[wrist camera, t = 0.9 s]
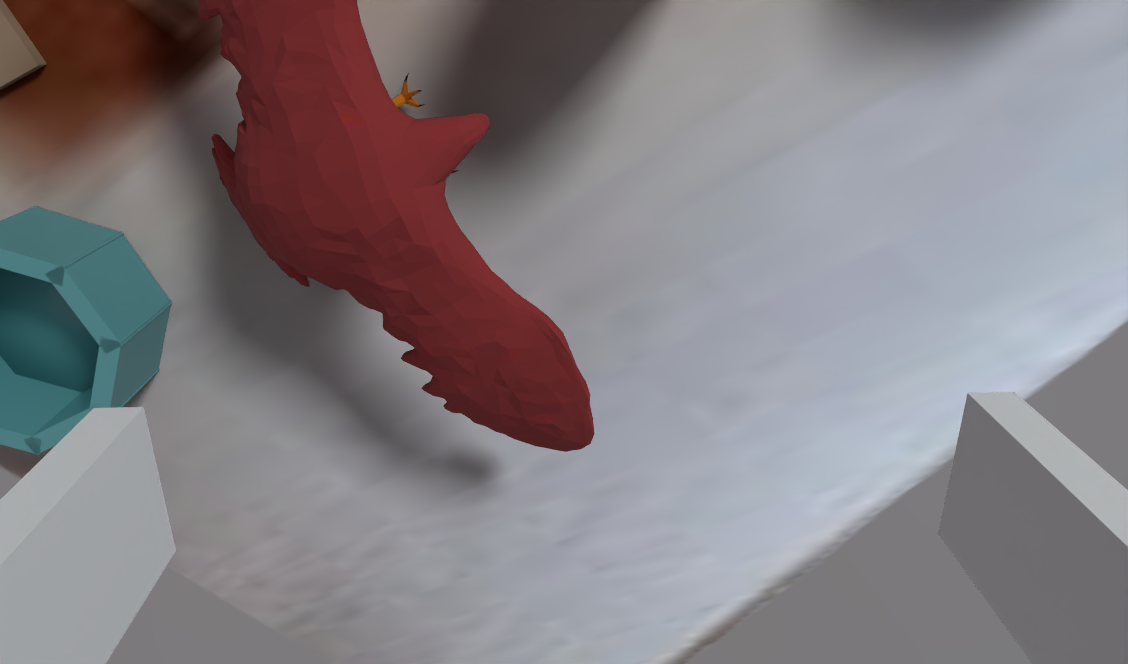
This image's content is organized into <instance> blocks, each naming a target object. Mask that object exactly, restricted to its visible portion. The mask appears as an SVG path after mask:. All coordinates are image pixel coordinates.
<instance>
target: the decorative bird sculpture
mask: <svg viewBox="0 0 1128 664" xmlns="http://www.w3.org/2000/svg"><path fill="white" fill-rule="evenodd" d="M198 15H199V16H200V17H201V18H202V19H210V18H212V17H215V16H217V15H221V17H222V21H223V28H222V38H221V40H220V45H221V48H222V51H221V55H222V56H223V57H224V58H225V59H227V60H229V61H230V62H231V63H232V64H233V65H234V66H235V68H236V69H237V70H238V72H239V73H240V75H241V77H242V78H241V80H240V82H239V84H238V91H237V92H236V95H237V98H238V101H239V104H240V107H241V110H242V116H243V118H244V120H243V121H242V122H240V123H239V124H238V128H237V143H236V148H235V153H234V152H233V151H232V149H231V148H230V147H229V146H228V145H227V144H226V142H225V141H224V140H223V139H222V138H221V137H220V135H217V134H214V135H213V136H212V141H213V144H214V147H215V148H212V154H213V156H214V159H215V162H216V165H217V168H218V170H219V174H220V179H221V181H222V183H223V185H224V186H225V188H226V189H227V191H228V193H229V196H230V199H231V201H232V202H233V204H234V205H235V207H236V208H237V210H238V211H239V213H240V214H241V216H242V218H243V219H244V220H245V222H246V223H247V225H248V226H249V228H250V230H251V232H252V234H253V236H254V237H255V239H256V240H257V242H258V243H259V245H260V246H261V247H262V248H263V249H264V250H265V251H266V253H267V254H268V256H269V257H270V258H271V259H272V260H273V261H275V262H276V263H277V264H278V266H279V267H280V268H281V269H282V270H283V271H284V272H285V273H286V274H287V275H288V276H289V277H291V278H295V279H296V280H297V281H298V282H299V283H300V284H301V285H304V286H306V287H309V286H310V285H309V281H308V278H307V276H308V277H310V278H312V279H314V280H316V281H318V282H320V283H322V284H324V285H327V286H329V287H331V288H333V289H335V290H340V289H345V290H347V291H348V292H349V293H350V294H351V295H352V296H353V297H354V298H355V299H356V300H357V301H358V302H359V303H360V304H362V305H364V306H366V307H368V308H370V309H374V310H376V311H379V312H381V313H382V314H383V328H384V330H386V331H387V332H388V333H389V334H391V335H392V336H394V337H395V338H397V339H398V340H400V341H405V342H407V343H409V344H410V345H412V346H413V347H414V349H413V350H410V351H407V352H405V353H404V354H403V355H402V357H401V359H402V360H403V361H405V362H407V363H409V364H411V365H414V366H416V367H418V368H420V369H422V370H426V371H427V372H429V373H430V374H431V375H432V376H433V377H432V379H431V381H430V382H429V383H427V384H425V385H424V386H423V387H422V389H423V390H424V391H426V392H427V393H429V394H431V395H433V396H437V397H441V398H444V399H445V400H446V401H447V403H446V404H444V407H445V409H447V410H448V411H450V412H453V413H461V414H463V415H465V416H467V417H468V418H470V419H471V420H472V421H473V422H474V423H477V424H480V425H484V426H486V427H488V428H490V429H492V430H494V431H496V432H499V433H503V434H505V435H507V436H509V437H511V438H513V439H516V440H519V441H522V442H525V443H528V444H531V445H534V446H538V447H544V448H549V449H554V450H559V451H566V452H567V451H571V450H578V449H582V448H584V447H585V446H587V445H589V444H590V443H591V441H592V438H593V436H594V426H593V417H592V413H591V408H590V393H589V390H588V387H587V384H586V381H585V380H584V378H583V376H582V374H581V373H580V371H579V369H578V368H577V365H576V363H575V360H574V358H573V355H572V353H571V350H570V348H569V346H568V343H567V341H566V338H565V336H564V334H563V332H562V331H561V330H560V329H559V328H558V327H557V325H556V324H555V323H554V322H553V321H552V320H551V319H550V318H549V317H548V316H547V315H546V314H544V313H543V312H542V311H541V310H539V309H538V308H537V307H536V306H534V305H533V304H531V303H530V302H528V301H527V300H526V299H524V298H523V297H521V296H520V295H519V294H517V293H516V292H515V291H514V290H513V289H512V288H510V287H509V286H508V285H507V284H506V283H505V282H504V281H503V280H502V279H501V278H500V277H499V276H497V275H496V274H495V273H494V272H492V271H491V269H490V268H489V267H488V265H487V264H486V263H485V261H484V260H483V258H482V257H481V256H480V254H479V253H478V252H477V250H476V249H475V248H474V246H473V245H472V244H471V242H470V241H469V240H468V239H467V237H466V236H465V235H464V233H463V232H462V231H461V229H460V228H459V226H458V225H457V223H456V221H455V220H454V218H453V216H452V214H451V212H450V210H449V208H448V205H447V201H446V198H445V195H444V193H445V179H446V178H447V177H448V176H449V174H450V173H454V172H456V171H454V169H455V168H456V167H457V166H458V165H459V164H460V162H461V161H462V160H463V159H464V158H465V157H466V155H467V154H468V153H469V152H470V150H471V149H472V148H473V146H474V145H475V144H476V142H478V141H479V140H481V139H482V138H483V137H484V135H485V133H486V132H487V130H488V128H489V126H490V123H489V119H488V116H485V115H484V114H469V115H459V116H448V117H436V118H424V119H414V118H412V117H410V116H408V115H407V114H405V113H404V112H402V111H401V110H399V108H398V107H400V106H402V105H403V104H405V103H406V104H409V105H412V106H415V107H420V106H422V105H420V104H419V103H417V102H416V101H415V100H413V99H412V98H411V97H412V96H414V95H415V94H417V93H418V92H420V91H422V90H418V91H413V92H409V93H408V87H407V77H408V75H407V76H406V78H405V80H404V84H403V88H402V92H401V94H400V95H398V96H397V97H395V98H393V99H391V98H390V96H389V94H388V92H387V90H386V88H385V86H384V84H383V82H382V80H381V77H380V74H379V72H378V69H377V66H376V64H375V61H374V58H373V56H372V53H371V50H370V48H369V45H368V42H367V39H366V36H365V33H364V30H363V27H362V24H361V20H360V15H359V11H358V6H357V0H198ZM408 74H409V73H408ZM423 105H425V104H423ZM457 171H459V170H457Z"/></svg>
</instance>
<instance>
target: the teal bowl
mask: <svg viewBox="0 0 1128 664" xmlns="http://www.w3.org/2000/svg"><path fill="white" fill-rule="evenodd" d="M171 304H172V303H171V300H169V298H168V297H167V296H166V294H165V293H164V291H163V290H162V289H161V287H160V286H159V284H158V283H157V281H156V280H155V279H154V277H153V276H152V274H151V273H150V272H149V270H148V269H147V267H146V266H145V265H144V263H143V262H142V260H141V259H140V258H139V256H138V255H137V253H136V252H135V251H134V249H133V248H132V246H131V245H130V243H129V242H128V241H127V239H126V238H125V236H124V233H122V232H117V231H114V230H111V229H107V228H104V227H101V226H98V225H94V224H91V223H88V222H85V221H81V220H78V219H75V218H72V217H68V216H65V215H62V214H58V213H55V212H52V211H49V210H45V209H42V208H39V206H37V207H36V206H35V207H32V208H30V209H28V210H25V211H23V212H20V213H18V214H16V215H13V216H11V217H9V218H6V219H4V220H2V221H0V445H4V446H8V447H12V448H15V449H19V450H23V451H27V452H31V453H34V454H36V455H37V454H38V455H40V454H41V453H42V452H43V451H45V450H47V449H49V448H51V447H54V446H56V445H57V444H58V443H59V442H60V441H61V440H62V439H63V438H64V437H65V436H66V435H67V434H68V433H69V432H70V431H71V430H72V429H73V428H74V427H75V426H76V425H77V424H78V423H79V422H80V421H81V420H82V419H83V418H84V417H85V416H86V415H87V414H88V413H89V412H90V411H91V410H92V409H93V408H116V407H123V406H124V405H125V404H126V403H127V402H128V401H129V400H130V399H131V398H132V397H133V396H134V395H135V394H136V393H137V392H138V391H139V390H140V389H141V388H142V387H143V386H144V385H145V384H146V383H147V382H148V381H149V380H150V379H151V378H152V377H153V376H154V375H155V374H156V373H157V372H158V371H159V364H160V358H161V353H162V348H163V342H164V337H165V332H166V326H167V321H168V316H169V310H170V305H171Z"/></svg>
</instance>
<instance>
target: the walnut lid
mask: <svg viewBox="0 0 1128 664" xmlns="http://www.w3.org/2000/svg"><path fill="white" fill-rule="evenodd" d="M46 64H47V63H46V62H45V61H44V59H43V58H42V56H41V55H40V53H39V52H38V50H37V49H36V48H35V46H34V45H33V43H32V42H31V40H30V39H29V37H28V36H27V35H26V33H25V32H24V30H23V29H22V27H21V26H20V24H19V23H18V21H17V20H16V19H15V17H14V16H13V14H12V13H11V11H10V10H9V8H8V7H7V6H6V4H5V3H4V1H3V0H0V90H2V89H4V88H5V87H7V86H9V85H11V84H13V83H14V82H16V81H18V80H20V79H21V78H23V77H25V76H27V75H29V74H30V73H32V72H34V71H36V70H37V69H39V68H41V67H43V66H45V65H46Z"/></svg>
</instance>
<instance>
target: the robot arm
mask: <svg viewBox="0 0 1128 664" xmlns="http://www.w3.org/2000/svg"><path fill="white" fill-rule="evenodd" d="M938 535H939V536H940V537H941V539H942V540H943V541H944V543H945V544H946V545H947V547H948V548H949V550H950V551H951V552H952V554H953V555H954V557H955V558H956V559H957V561H958V562H959V563H960V565H961V566H962V568H963V569H964V570H965V572H966V573H967V575H968V576H969V577H970V579H971V580H972V581H973V583H974V584H975V586H976V587H977V588H978V590H979V591H980V592H981V594H982V595H983V597H984V598H985V599H986V601H987V602H988V603H989V605H990V606H991V608H992V609H993V610H994V612H995V613H996V614H997V616H998V617H999V619H1000V620H1001V621H1002V623H1003V624H1004V625H1005V627H1006V628H1007V630H1008V631H1009V632H1010V634H1011V635H1012V636H1013V638H1014V639H1015V641H1016V642H1017V643H1018V645H1019V646H1020V647H1021V649H1022V650H1023V652H1024V653H1025V654H1026V656H1027V657H1028V659H1029V660H1030V661H1031V663H1032V664H1128V490H1127V489H1125V488H1124V487H1123V486H1122V485H1121V484H1120V483H1118V482H1117V481H1116V480H1115V479H1114V478H1113V477H1112V476H1110V475H1109V474H1108V473H1107V472H1106V471H1105V470H1104V469H1102V468H1101V467H1100V466H1099V465H1098V464H1097V463H1095V462H1094V461H1093V460H1092V459H1091V458H1090V457H1088V456H1087V455H1086V454H1085V453H1084V452H1083V451H1082V450H1080V449H1079V448H1078V447H1077V446H1076V445H1075V444H1074V443H1072V442H1071V441H1070V440H1069V439H1068V438H1066V437H1065V436H1064V435H1063V434H1062V433H1061V432H1060V431H1058V430H1057V429H1056V428H1055V427H1054V426H1053V425H1052V424H1050V423H1049V422H1048V421H1047V420H1046V419H1045V418H1043V417H1042V416H1041V415H1040V414H1039V413H1038V412H1037V411H1035V410H1034V409H1033V408H1032V407H1031V406H1029V405H1028V404H1027V403H1026V402H1025V401H1024V400H1023V399H1021V398H1020V397H1019V396H1018V395H1017V394H1016V393H1015V392H1001V393H968V394H967V399H966V404H965V408H964V413H963V418H962V423H961V427H960V432H959V437H958V441H957V446H956V451H955V456H954V460H953V465H952V470H951V475H950V480H949V484H948V489H947V494H946V498H945V503H944V508H943V512H942V517H941V522H940V527H939V531H938ZM175 551H176V549H175V545H174V540H173V536H172V531H171V527H170V523H169V518H168V514H167V509H166V505H165V500H164V496H163V491H162V487H161V482H160V478H159V474H158V469H157V465H156V460H155V456H154V451H153V447H152V442H151V438H150V434H149V429H148V425H147V420H146V416H145V411H144V407H116V408H93V409H92V410H91V411H90V412H89V413H88V414H87V415H86V416H85V417H84V418H83V419H82V420H81V421H80V422H79V423H78V424H77V425H76V426H75V427H74V428H73V429H72V430H71V431H70V432H69V433H68V434H67V435H66V436H65V437H64V438H63V439H62V440H61V441H60V442H59V443H58V444H57V445H56V446H55V447H54V448H53V449H52V450H51V451H49V452H48V453H47V454H46V455H45V456H44V457H43V458H42V459H41V460H40V461H39V462H38V463H37V464H36V465H35V466H34V467H33V468H32V469H31V470H30V471H29V472H28V473H27V474H26V475H25V476H24V477H23V478H22V479H21V480H20V481H19V482H18V483H17V484H16V485H15V486H14V487H13V488H12V489H11V490H10V491H9V492H8V493H7V494H6V495H5V496H4V497H3V498H2V499H1V500H0V664H106V662H107V661H108V659H109V657H110V656H111V654H112V652H113V651H114V649H115V648H116V646H117V644H118V643H119V641H120V640H121V638H122V636H123V635H124V633H125V632H126V630H127V628H128V627H129V625H130V624H131V622H132V620H133V619H134V617H135V616H136V614H137V612H138V611H139V609H140V607H141V606H142V604H143V603H144V601H145V599H146V598H147V596H148V595H149V593H150V591H151V590H152V588H153V586H154V585H155V583H156V582H157V580H158V579H159V577H160V575H161V573H162V572H163V570H164V569H165V567H166V566H167V564H168V562H169V561H170V559H171V558H172V556H173V554H174V553H175Z"/></svg>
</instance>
